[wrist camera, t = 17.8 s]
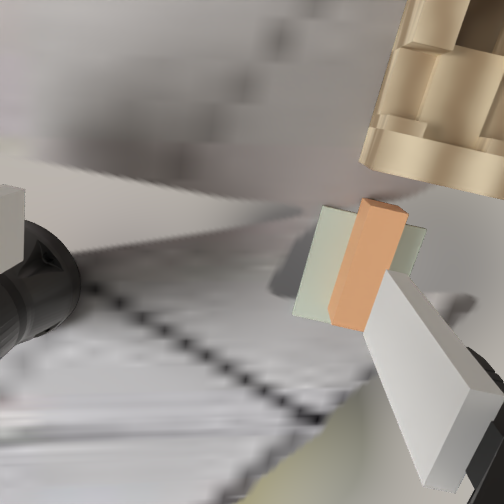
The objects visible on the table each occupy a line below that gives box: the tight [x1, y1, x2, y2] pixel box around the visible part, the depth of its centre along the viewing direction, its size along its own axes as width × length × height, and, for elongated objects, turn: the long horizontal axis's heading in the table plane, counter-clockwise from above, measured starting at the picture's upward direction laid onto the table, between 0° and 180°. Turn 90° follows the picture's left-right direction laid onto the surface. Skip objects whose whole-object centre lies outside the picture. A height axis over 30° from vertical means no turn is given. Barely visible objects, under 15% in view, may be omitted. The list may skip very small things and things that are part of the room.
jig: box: [359, 0, 504, 200], centre depth 37 cm, size 13×24×6 cm, turn 168°
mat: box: [292, 205, 427, 324], centre depth 48 cm, size 12×14×1 cm
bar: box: [327, 198, 409, 332], centre depth 45 cm, size 4×14×4 cm, turn 168°
